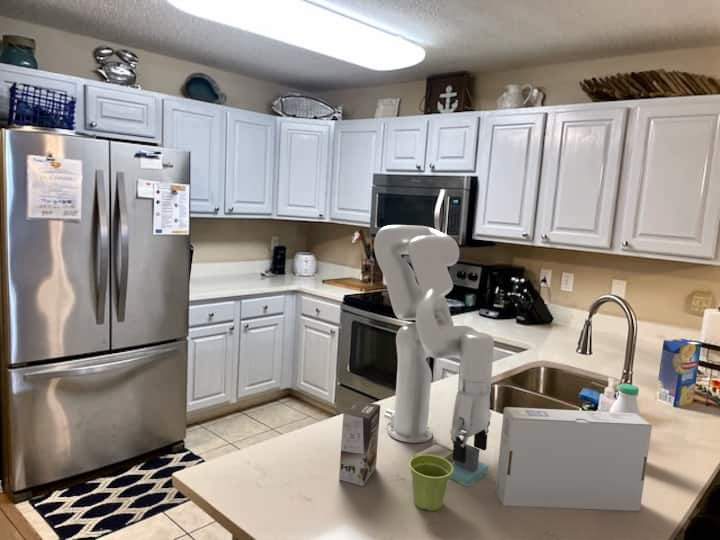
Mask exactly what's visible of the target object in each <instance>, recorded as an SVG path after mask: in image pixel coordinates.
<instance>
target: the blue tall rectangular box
mask: <svg viewBox="0 0 720 540" xmlns="http://www.w3.org/2000/svg"><path fill="white" fill-rule="evenodd" d="M701 350H702V343H701V342H698V341H693V340H690V339H686V338H674V339H664V340H663V342H662V350H661V351H662V352H661V357H660V358H661V359H660V362H659V363H660V364H659V370H658V371H659V372H658V379H657V384H656V385H657V387H656V391H655V392H656V393H655V401H657V402H660V403H663V404H665V405H668V406H671V407H673V408H676V407H681V406H687V405H690V404H693V403H694V396H695V391H696V384H697V376H698V371H699V370H698V369H699V363H700V357H701Z"/></svg>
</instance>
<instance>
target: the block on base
mask: <svg viewBox="0 0 720 540" xmlns="http://www.w3.org/2000/svg"><path fill="white" fill-rule="evenodd" d="M465 446H466V447H467V450H466V462H465V463H464V464H463V463H461V462H458V461H456V460H455V461H453V462H452V463H451V464H452V466H453V473H452V474H451V475H450V478H449V479H451V480H453V481H456V482H458V483H460V484H462V485H464V486H466V487H469V486H470V485H471V484H473V483H474V482H475V481H477V480H478V479H480V478H481V477H482V476H484V475H485V474H487V473H488V472H489V469H490V466H489V464H487V463H484V462H482V461H479V459H480V451H481V449H479V448H476V447H474V446H472V445H470V444H467V443H466V444H465Z"/></svg>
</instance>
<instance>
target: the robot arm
mask: <svg viewBox="0 0 720 540" xmlns="http://www.w3.org/2000/svg"><path fill="white" fill-rule="evenodd" d="M374 254H375V259H376V261H377V264H378V267H379V268H380V270H381V272H382V274H383V278H384V280H385V283H386V288H387V292H388V295H389V296H388V297H389V300H390V303H391V308H392V310H393V313H394V316H396V317H395V318H398V319H399V320H401V321H415V322H412V323H407V324H404V325H403V326H401V327H400V328H399V329H398V330H397V333H396V335H395V346H396V355H397V371H396V384H395V385H396V388H395V401H394V410H393V409H392V408H387V409H386V411H385V413H384V417H383V418H384V419H387V420H389V421H390V422H389V424H388V425H387V433H388V434H389V436H391V438H393V439H395V440H397V441H400V442H404V443H411V444H420V443H424V442H427V441H429V440H431V439H432V437H433V433H434V432H433V429H432V427H430V426H429V424H428V423H429V411H430V402H431V401H430V400H431V388H432V370H431V366H430V365H429V364H428V361H427V358H433V359H439V360H440V359H448V358H455V357H457V358H459V365H458V366H459V368H458V369H459V371H458V382H457V383H458V384H457V385H458V387H457V393H456V395H455V401H454V406H453V411H452V412H453V413H452V419H451V421H452V422H451V429H450V431H449V434H450V439H451V441H452V444H453V446H452V447H453V448H452V450H453V459H454V460H456V461H458V462H461V463H463V464H464V463H465V462H466V450H467V447H466V446H465V444H467V441H468V440H469V438H470V437H473V447H475V448H477V449H480V451H486V450H487V447H488V446H487V445H488V434H489V427H490V425H491V418H492V412H491V410H490V407H491V402H490V400H491V398H490V395H491V390H492V389H491V387H492V375H493V362H494V361H493V359H494V349H495V341H494V338H493V336H492V335H490V334H488V333H485V332H480V331H478V330H475V329H474V328H473V327H471V326H468V325H454V321H453V318H452V314H451V312H450V309H449V304H448V301H447V299H446V297H445V296H446V295H448V294H449V293H450V292H451V291H453V287H454V282H453V279H452V278H451V274H450V272H449V269H448V267H452V266H454V265H455V264H457V262H458V261H459V259H460V248H459V245H458V243H457V242H456V240H455V239H454V238H453V237H451V236H450V235H448V234H446V233H444V232H441V231H439V230H437V229H434V228H433V227H430V226H426V225H425V226H424V225H409V224H408V225H407V224H390V225H386V226H383V227H382V228H380V229H379V230H378V231H377V233H376V235H375V237H374ZM402 255H408V256H409V260H410V263H411V265H410V264H409V263H408V262H407V261H406V260H405V259H404V258H403V257H402ZM411 266H412V267H411ZM460 436H462V437H463V438H461V437H460Z"/></svg>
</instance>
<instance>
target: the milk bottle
mask: <svg viewBox="0 0 720 540" xmlns="http://www.w3.org/2000/svg"><path fill="white" fill-rule="evenodd" d="M617 392H618V397H617V399H616V400H615V402H614V403H613V404H612V406H611V407H610V410H609V412H619V413H635V414H637V415H638V416H640V417H641V418H642V416H641V412H640V409H639V406H638V401H637V400H638V399H637V398H638V397H639V387H638V386H636V385H633V384H629V383H620V384H619V385H618V390H617Z"/></svg>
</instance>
